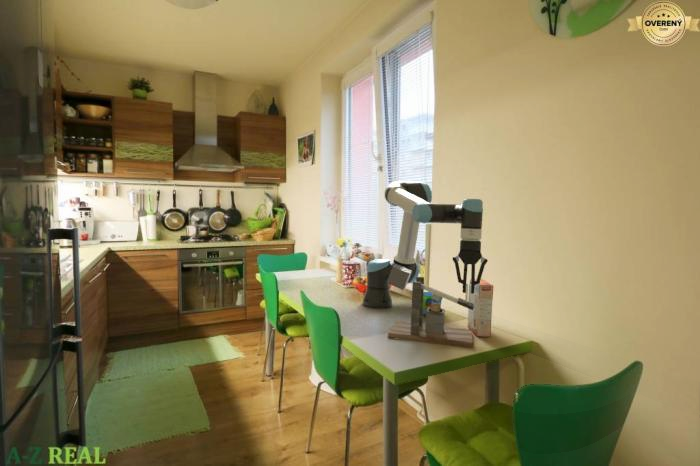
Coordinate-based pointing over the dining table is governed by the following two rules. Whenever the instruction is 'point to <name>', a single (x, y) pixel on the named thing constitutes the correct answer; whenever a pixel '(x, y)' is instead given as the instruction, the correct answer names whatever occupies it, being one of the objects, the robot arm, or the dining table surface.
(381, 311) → the dining table surface
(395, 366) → the dining table surface
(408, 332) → the press base
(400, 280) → the lever
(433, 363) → the dining table surface
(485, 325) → the cracker box
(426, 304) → the snack cup
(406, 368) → the dining table surface
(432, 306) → the tan ball
